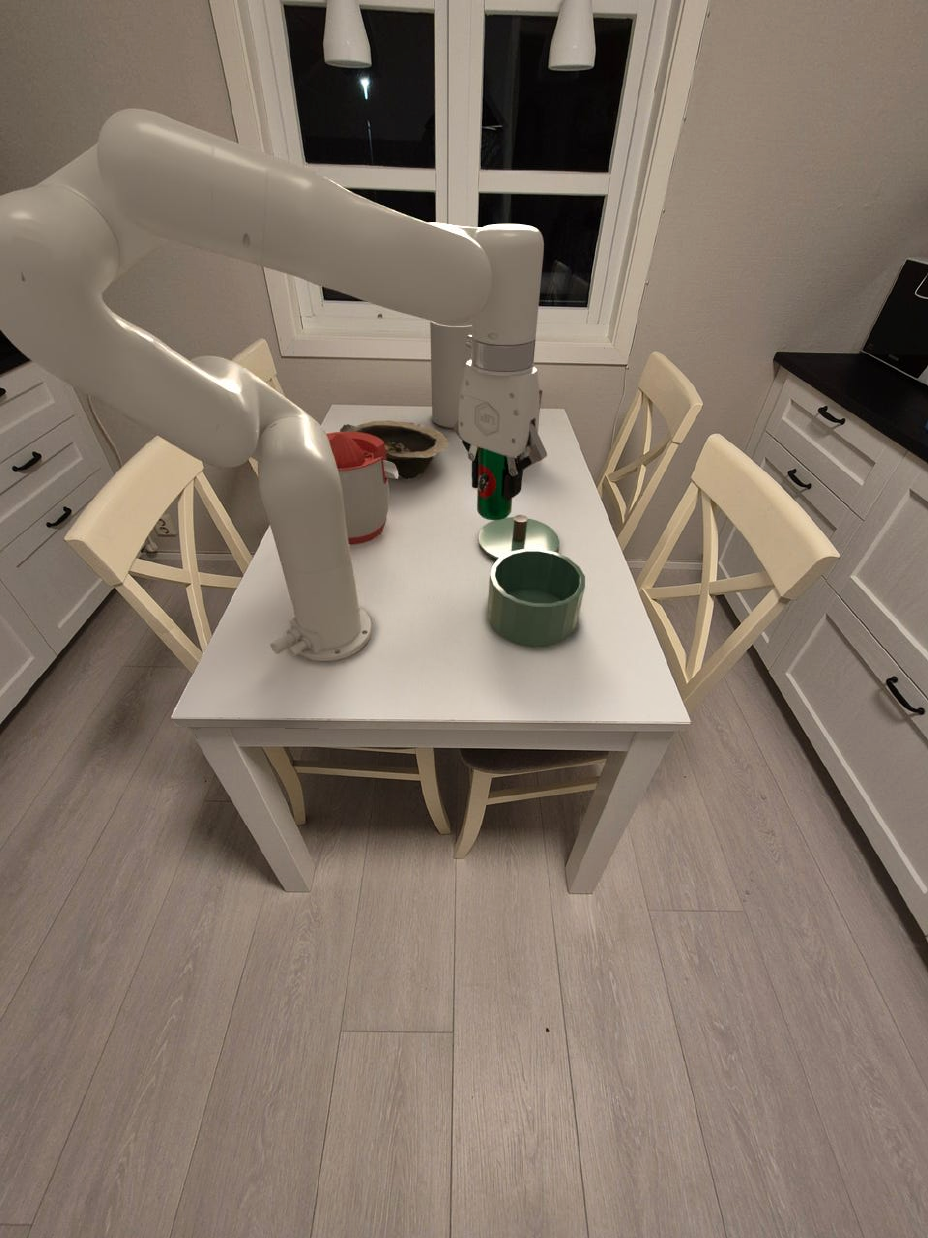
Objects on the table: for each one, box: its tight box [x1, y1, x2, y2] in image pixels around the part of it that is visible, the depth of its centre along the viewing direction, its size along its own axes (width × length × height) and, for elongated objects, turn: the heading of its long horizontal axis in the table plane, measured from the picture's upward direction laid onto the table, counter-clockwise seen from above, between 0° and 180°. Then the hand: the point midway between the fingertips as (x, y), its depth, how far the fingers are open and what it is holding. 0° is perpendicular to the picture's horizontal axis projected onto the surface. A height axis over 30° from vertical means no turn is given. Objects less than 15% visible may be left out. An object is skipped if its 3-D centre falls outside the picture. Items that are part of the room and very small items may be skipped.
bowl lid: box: [478, 514, 560, 561], centre depth 102 cm, size 16×16×6 cm
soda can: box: [476, 447, 513, 521], centre depth 74 cm, size 5×5×12 cm
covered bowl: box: [487, 549, 586, 649], centre depth 85 cm, size 15×15×8 cm
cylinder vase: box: [429, 319, 472, 429], centre depth 139 cm, size 12×12×25 cm
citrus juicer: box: [326, 431, 399, 546], centre depth 99 cm, size 16×17×20 cm
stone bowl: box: [339, 420, 450, 480], centre depth 124 cm, size 25×25×9 cm
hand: (495, 489), depth 75 cm, fingers closed on soda can, 4 cm apart
